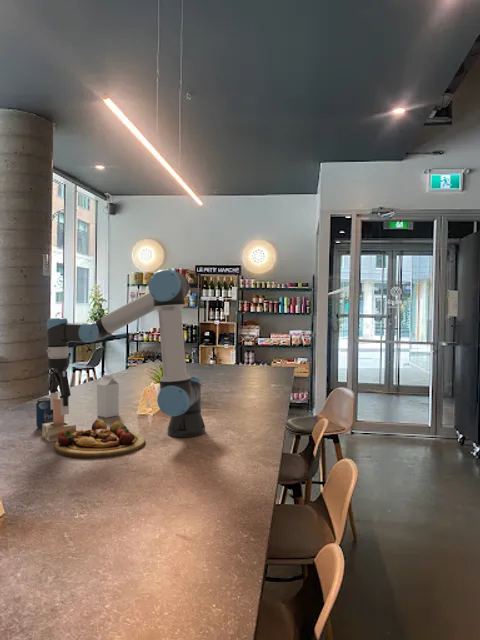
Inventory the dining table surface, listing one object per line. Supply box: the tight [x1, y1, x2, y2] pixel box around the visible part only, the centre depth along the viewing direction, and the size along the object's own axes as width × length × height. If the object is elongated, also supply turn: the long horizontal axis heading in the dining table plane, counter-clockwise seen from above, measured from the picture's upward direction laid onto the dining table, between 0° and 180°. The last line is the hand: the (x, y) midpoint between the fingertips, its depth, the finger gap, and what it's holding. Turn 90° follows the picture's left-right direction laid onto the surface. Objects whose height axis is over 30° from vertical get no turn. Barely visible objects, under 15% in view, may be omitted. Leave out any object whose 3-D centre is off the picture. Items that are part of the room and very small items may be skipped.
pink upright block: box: [53, 397, 65, 427], centre depth 192 cm, size 4×4×14 cm
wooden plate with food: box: [54, 418, 146, 459], centre depth 180 cm, size 32×32×8 cm
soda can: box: [35, 397, 53, 430], centre depth 207 cm, size 7×7×12 cm
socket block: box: [41, 419, 77, 443], centre depth 192 cm, size 10×10×5 cm
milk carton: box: [96, 374, 120, 419], centre depth 230 cm, size 7×7×19 cm
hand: (59, 411), depth 192 cm, fingers open, 13 cm apart
